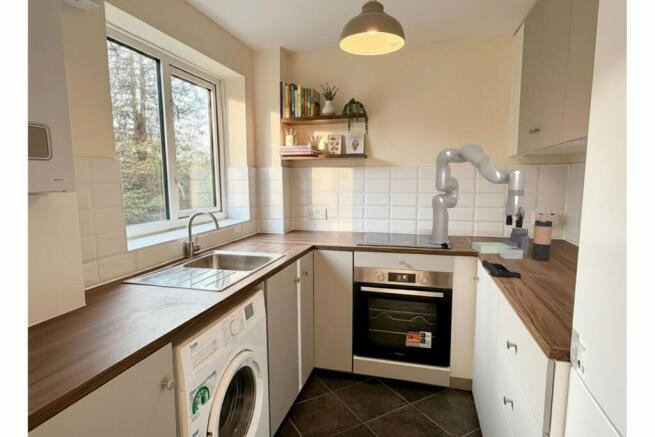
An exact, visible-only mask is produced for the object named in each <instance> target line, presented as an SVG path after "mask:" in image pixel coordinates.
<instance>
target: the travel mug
mask: <svg viewBox="0 0 655 437" xmlns="http://www.w3.org/2000/svg"><path fill="white" fill-rule="evenodd" d="M552 232H553V221H551V220H545V221H542V220H540V219H537V220H536V219H535V221H534V230H533V239H532V260H535V261H538V260H539V261H540V262H548V261H549V260H550V252H551V251H550V250H551V244H552Z"/></svg>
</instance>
